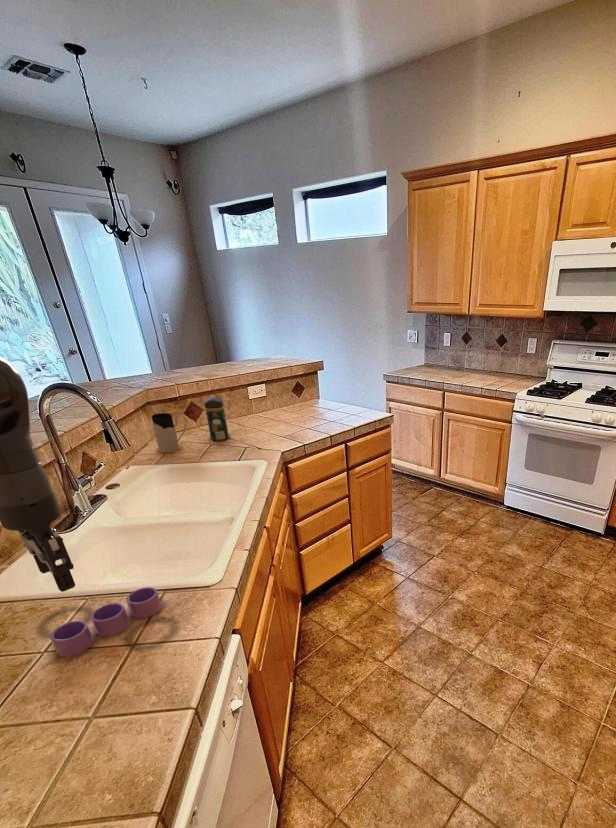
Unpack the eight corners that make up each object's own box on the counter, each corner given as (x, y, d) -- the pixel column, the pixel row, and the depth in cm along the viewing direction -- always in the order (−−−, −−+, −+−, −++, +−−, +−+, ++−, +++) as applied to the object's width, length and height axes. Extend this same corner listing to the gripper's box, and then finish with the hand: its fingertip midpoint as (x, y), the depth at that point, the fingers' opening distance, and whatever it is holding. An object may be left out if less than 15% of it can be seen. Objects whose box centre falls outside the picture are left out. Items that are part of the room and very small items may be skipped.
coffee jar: (211, 435, 203) (204, 396, 195) (229, 434, 206) (222, 395, 197) (209, 441, 195) (202, 400, 187) (228, 440, 197) (221, 399, 189)
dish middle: (92, 630, 85) (85, 613, 83) (121, 615, 89) (116, 599, 87) (105, 642, 82) (98, 625, 80) (135, 626, 86) (129, 610, 84)
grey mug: (153, 450, 182) (145, 415, 176) (184, 442, 193) (177, 409, 186) (165, 454, 178) (157, 419, 171) (196, 446, 189) (189, 412, 182)
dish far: (126, 613, 90) (121, 596, 88) (153, 599, 94) (148, 584, 92) (140, 623, 87) (134, 607, 85) (167, 609, 91) (162, 593, 89)
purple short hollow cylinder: (53, 649, 80) (45, 632, 78) (86, 633, 84) (79, 616, 82) (65, 663, 77) (57, 645, 75) (99, 645, 81) (92, 628, 80)
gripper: (-23, 490, 68) (17, 574, 75) (7, 515, 60) (47, 606, 68) (35, 476, 73) (66, 556, 80) (68, 498, 66) (100, 584, 73)
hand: (58, 579), depth 74 cm, fingers open, 8 cm apart
